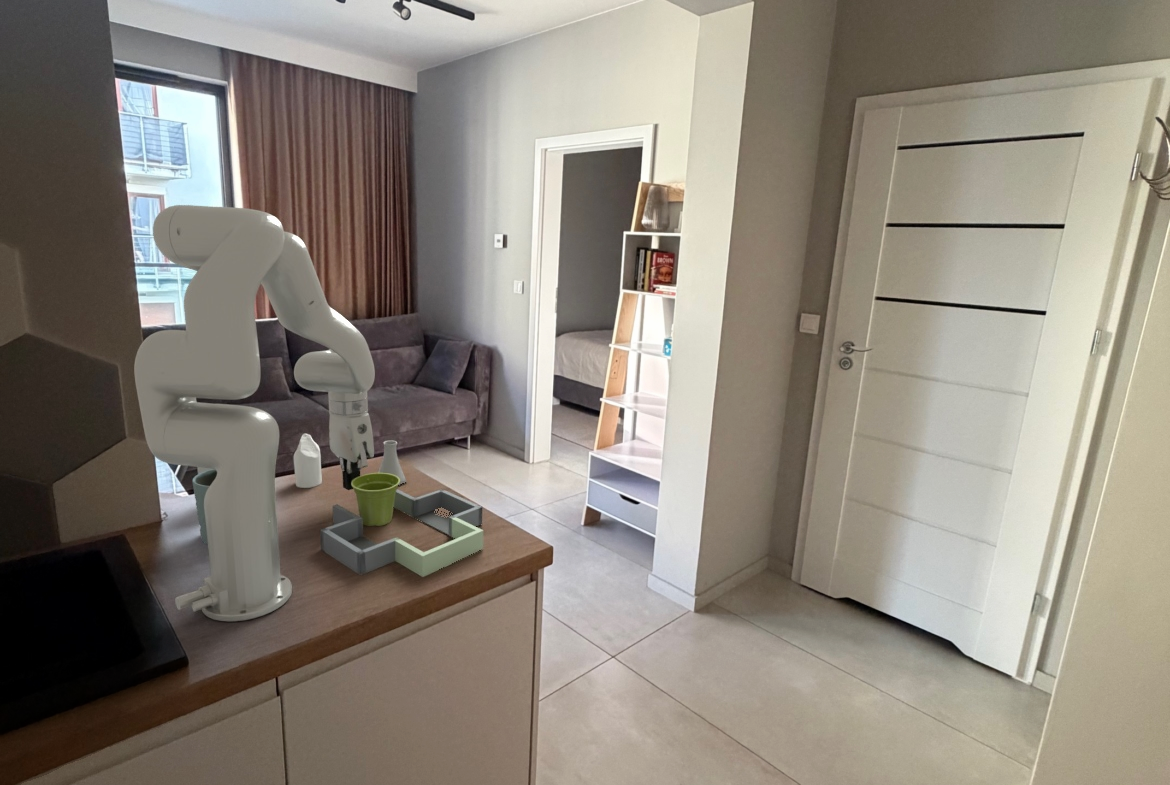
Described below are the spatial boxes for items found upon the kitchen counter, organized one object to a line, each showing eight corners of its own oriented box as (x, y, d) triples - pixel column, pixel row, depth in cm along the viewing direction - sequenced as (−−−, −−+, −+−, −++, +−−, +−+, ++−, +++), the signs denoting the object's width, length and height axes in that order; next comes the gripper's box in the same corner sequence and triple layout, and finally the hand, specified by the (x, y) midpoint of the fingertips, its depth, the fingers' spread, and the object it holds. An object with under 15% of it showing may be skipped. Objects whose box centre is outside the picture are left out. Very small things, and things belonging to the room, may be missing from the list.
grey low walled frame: (387, 593, 102) (387, 571, 101) (299, 535, 119) (298, 516, 118) (509, 537, 123) (509, 519, 122) (419, 495, 140) (419, 478, 139)
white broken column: (308, 439, 137) (286, 436, 138) (310, 489, 140) (289, 486, 141) (325, 432, 143) (304, 429, 144) (327, 480, 146) (306, 477, 147)
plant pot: (410, 519, 128) (409, 480, 126) (373, 535, 121) (372, 494, 119) (379, 507, 133) (379, 469, 131) (342, 521, 125) (341, 482, 123)
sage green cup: (192, 532, 117) (186, 473, 115) (250, 519, 124) (246, 462, 121) (205, 553, 110) (199, 491, 107) (266, 538, 117) (262, 479, 114)
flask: (412, 483, 147) (411, 444, 144) (383, 490, 142) (382, 449, 140) (398, 474, 152) (397, 435, 150) (369, 480, 147) (368, 440, 145)
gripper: (385, 410, 126) (387, 492, 131) (345, 395, 135) (348, 473, 139) (352, 417, 120) (355, 503, 125) (312, 401, 129) (317, 482, 134)
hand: (351, 487), depth 132 cm, fingers closed
